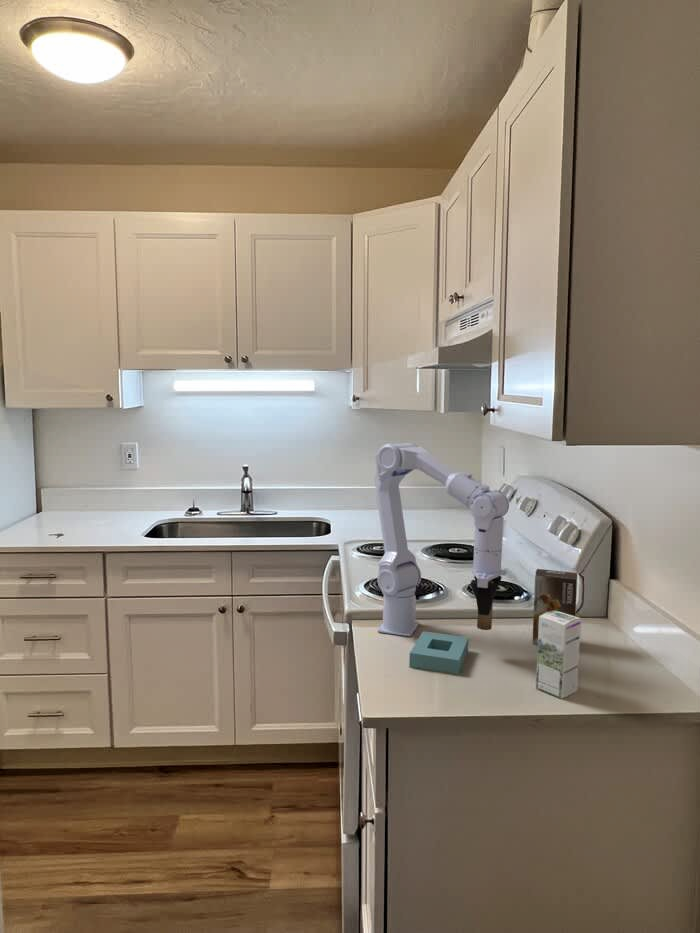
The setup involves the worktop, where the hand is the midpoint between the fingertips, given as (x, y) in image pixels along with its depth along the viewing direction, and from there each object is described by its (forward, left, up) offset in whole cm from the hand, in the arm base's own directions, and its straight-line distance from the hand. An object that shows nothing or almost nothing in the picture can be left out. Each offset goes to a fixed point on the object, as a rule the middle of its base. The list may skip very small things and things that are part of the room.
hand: (484, 611), depth 135 cm
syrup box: (+11, +15, -10) cm, 21 cm away
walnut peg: (0, 0, -3) cm, 3 cm away
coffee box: (-14, +14, -10) cm, 22 cm away
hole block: (+5, -8, -10) cm, 14 cm away
